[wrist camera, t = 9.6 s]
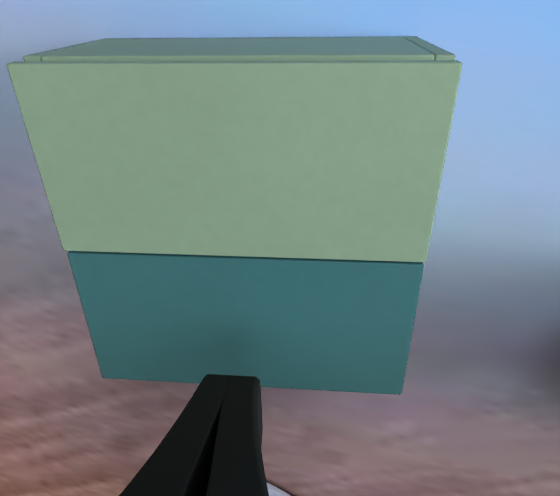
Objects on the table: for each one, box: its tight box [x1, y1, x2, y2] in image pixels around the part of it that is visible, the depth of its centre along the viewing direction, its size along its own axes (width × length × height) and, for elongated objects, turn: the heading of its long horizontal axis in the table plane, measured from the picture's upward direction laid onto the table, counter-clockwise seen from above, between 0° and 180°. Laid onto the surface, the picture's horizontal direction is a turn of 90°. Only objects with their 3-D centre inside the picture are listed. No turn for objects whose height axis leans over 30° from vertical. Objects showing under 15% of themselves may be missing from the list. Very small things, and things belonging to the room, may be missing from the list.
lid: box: [68, 251, 424, 395], centre depth 15 cm, size 5×11×1 cm, turn 91°
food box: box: [7, 36, 462, 262], centre depth 15 cm, size 11×11×6 cm
